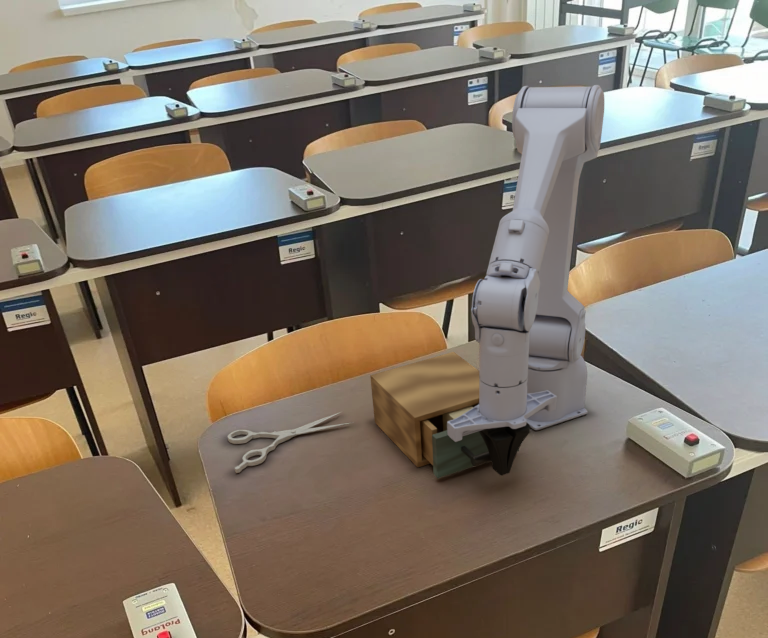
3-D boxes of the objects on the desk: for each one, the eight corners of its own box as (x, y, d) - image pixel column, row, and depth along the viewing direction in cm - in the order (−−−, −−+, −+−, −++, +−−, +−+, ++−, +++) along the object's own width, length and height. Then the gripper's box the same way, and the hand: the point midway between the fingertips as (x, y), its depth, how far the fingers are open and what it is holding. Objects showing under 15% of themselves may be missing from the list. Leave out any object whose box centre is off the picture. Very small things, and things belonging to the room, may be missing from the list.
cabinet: (503, 439, 110) (504, 390, 105) (417, 467, 106) (414, 417, 101) (454, 398, 121) (453, 351, 116) (374, 422, 117) (370, 375, 112)
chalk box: (466, 431, 109) (465, 401, 106) (482, 445, 105) (482, 414, 102) (443, 439, 108) (442, 408, 105) (458, 453, 104) (457, 422, 101)
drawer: (536, 465, 103) (538, 425, 99) (452, 494, 99) (451, 454, 95) (470, 410, 116) (470, 373, 112) (394, 433, 112) (391, 396, 108)
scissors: (216, 436, 115) (336, 400, 121) (217, 440, 116) (337, 404, 122) (235, 469, 107) (363, 429, 113) (236, 474, 108) (363, 433, 114)
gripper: (467, 406, 85) (468, 503, 93) (574, 373, 89) (566, 468, 97) (437, 382, 90) (440, 475, 98) (539, 351, 94) (535, 443, 103)
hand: (501, 470), depth 98 cm, fingers closed, pressing on drawer
